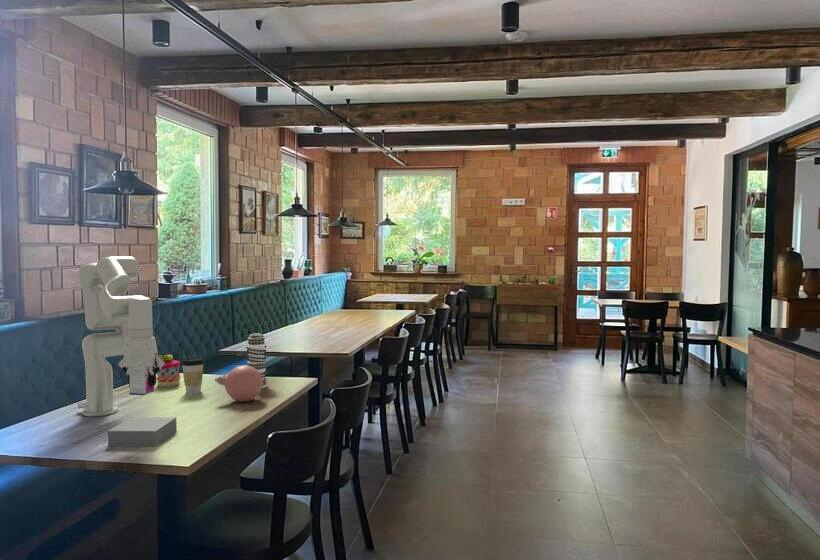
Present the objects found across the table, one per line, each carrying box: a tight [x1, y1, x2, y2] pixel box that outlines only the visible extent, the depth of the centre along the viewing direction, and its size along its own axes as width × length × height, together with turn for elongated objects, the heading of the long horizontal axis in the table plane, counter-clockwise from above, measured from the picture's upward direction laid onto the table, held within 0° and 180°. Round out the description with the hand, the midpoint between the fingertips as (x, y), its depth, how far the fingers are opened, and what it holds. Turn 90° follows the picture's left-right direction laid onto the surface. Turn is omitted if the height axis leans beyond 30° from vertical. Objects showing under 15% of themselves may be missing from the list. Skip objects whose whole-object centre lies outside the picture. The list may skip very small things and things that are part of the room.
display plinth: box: [107, 416, 178, 447], centre depth 202 cm, size 16×16×5 cm
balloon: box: [214, 364, 263, 403], centre depth 252 cm, size 15×20×15 cm
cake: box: [156, 354, 182, 388], centre depth 284 cm, size 10×11×15 cm
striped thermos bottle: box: [246, 333, 267, 389], centre depth 278 cm, size 9×9×25 cm
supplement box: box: [129, 362, 155, 396], centre depth 201 cm, size 6×6×12 cm
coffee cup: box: [180, 357, 205, 395], centre depth 268 cm, size 10×10×15 cm
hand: (142, 385), depth 202 cm, fingers closed on supplement box, 6 cm apart
